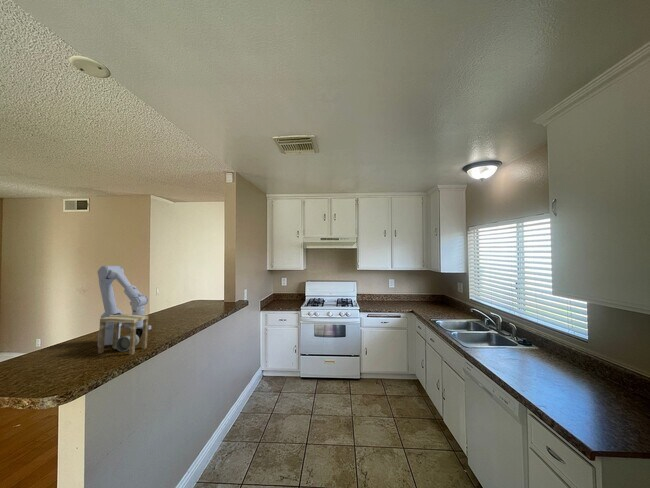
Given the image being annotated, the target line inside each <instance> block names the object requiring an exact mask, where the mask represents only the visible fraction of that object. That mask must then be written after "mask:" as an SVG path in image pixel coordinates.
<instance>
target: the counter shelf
mask: <svg viewBox="0 0 650 488" xmlns="http://www.w3.org/2000/svg"><path fill="white" fill-rule="evenodd" d="M122 314H123V313H122ZM122 314H116V315H110V316H109V317H105V318H101V317H100V318H99V329H98V333H99V343H98V342H97V345H98V346H97V354H98V355H99V354H101V355H102V354H103V353H104V352H105V346H104V340H105V325H106V322H114V329H113V344H112V345H111V347H112V349H114V348H113V347H114V346H116V341H117V340H118V333H119V322H123V323H122V324H124V323H125V324H126V323H128V324H129V323H130V325H131V329H129V334H130V346H129V350H128V351H129V352H128V356H133V355H135V353H136V352H135V351H136V350H135V349H136V346H135V338H136V322H138V321H141V320H143V333H142V335H141V349H142V350H146V349H147V348H148V347H147V346H148V334H149V333H148V331H149V330H148V325H149V315H148V314H147V315H146V314H144V315H132V314H123V315H122Z"/></svg>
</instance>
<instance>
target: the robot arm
mask: <svg viewBox="0 0 650 488" xmlns="http://www.w3.org/2000/svg"><path fill="white" fill-rule="evenodd" d="M96 271H97V276H98V284H99V289H100V294H101V298H102V304H103V309H104V312H103V313H102V315H100V319H101V318H105V317H109V316H112V315H116V314H122V315H124V314H123V312H122V310H121V309H119V308H118V306H117V301H116V297H115V292H114V291H115V290H114V288H113V286H114V285H113V282H114V280H116V281H117V282H118V283H119V284H120V285H121V286H122V287H123V288H124V290H123V293H124V294H125V296H127V298H128V299H129V301H130V302H129V305H130V306H131V315H146V314H145V311H146V305H147V304H148V301H149V299H148V297H147V296H146V295H143V293H141V292H140V291H139V289H138V287H137V286H136V285H132V284H131V282H130V281H129V279H128V278H127V276H126V274H125V269H123V267H122V266H121V265H119V264H118V265H102V266H100V267H99V269H98V270H96ZM123 324H124V323H123V322H119V333H118V339H119V338H120V337H121V329H122V328H121V327H122V325H123ZM113 329H114V322H106V325H105V340H104V347H105V346H112V344H113ZM123 330H131V324H125V325H123ZM149 330H152V325H150V324H148V331H149ZM142 334H143V320H141V321H138V322H136V335H138V336H139V342H140V341H141V339H142ZM98 343H99V332H98V334H97V345H96V346H97V347H98Z"/></svg>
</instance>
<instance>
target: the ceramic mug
mask: <svg viewBox="0 0 650 488" xmlns="http://www.w3.org/2000/svg"><path fill="white" fill-rule="evenodd" d="M139 342H140V341H139V336H138V335H136V338H135V347H136V346H137V345H138V344H139ZM129 346H130V333H129V334H127V335H123V336H120V338H119V339H118V340H117V341H116V346H114V347H113V348H112V349H113V350H117V351H119V352H123V353H124V352H126V351H129Z"/></svg>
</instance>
